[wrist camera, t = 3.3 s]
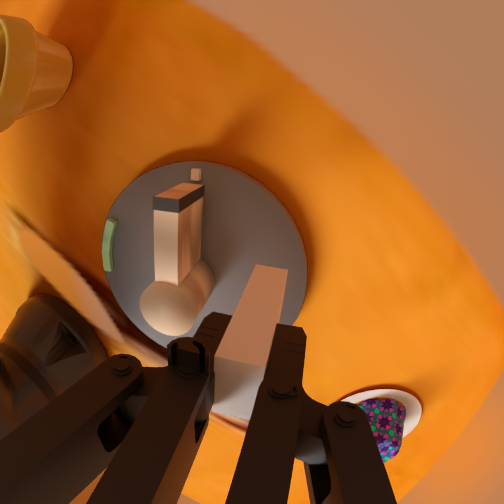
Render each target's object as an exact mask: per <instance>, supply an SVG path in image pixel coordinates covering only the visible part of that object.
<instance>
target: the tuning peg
mask: <svg viewBox="0 0 504 504" xmlns="http://www.w3.org/2000/svg"><path fill="white" fill-rule="evenodd" d="M204 190H205V185H201V184H192V183H180V184H178V185H176V186H174V187H172V188H169V189H167V190H165V191H163V192H161V193H159V194H157V195H155V196H153V210H154V263H155V280H154V281H153V282H152V283H151V284H150V285H149V286H148V287H147V288H146V289H145V290H144V291H143V293H142V295H141V297H140V309H141V312H142V315H143V317H144V318H145V320H146V321H147V322H148V324H149V325H150V326H152V327H153V328H154V329H155V330H157V331H159V332H161V333H163V334H166V335H170V336H179V335H183V334H185V333H187V332H188V331H189V330H190V329H191V327H192V326H193V324H194V322H195V321H196V319H197V317H198V316H199V314H200V312H201V310H202V309H203V307H204V305H205V304H206V302H207V300H208V299H209V297H210V295H211V294H212V292H213V290H214V287H215V276H214V273H213V271H212V269H211V268H210V266H209V265H208V264H207V263H206V262H205V261H203V260H202V259H200V253H201V229H202V209H203V196H204Z"/></svg>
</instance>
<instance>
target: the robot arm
mask: <svg viewBox="0 0 504 504" xmlns="http://www.w3.org/2000/svg"><path fill="white" fill-rule="evenodd" d="M287 273H288V270H287V269H281V268H276V267H270V266H264V265H258V264H256V265H255V268H254V270H253V272H252V274H251V277H250V279H249V281H248V283H247V285H246V288H245V290H244V292H243V294H242V296H241V299H240V301H239V303H238V305H237V307H236V310H235V312H234V314H233V315H228V314H223V313H218V312H212V313H210V314H209V315H207V316H206V317H204V319H203V321H202V322H201V324H200V326H199V327H198V329H197V331H196V334H194V336H193V337H180V338H177V339H174V340H172V341H171V342H170V343H169V344H167V356H168V366H166V367H142V365H141V362H140V361H139V360H138V359H137V358H136V357H134V356H132V355H129V354H118V355H113V356H111V357H110V358H108V356H107V353H106V351H105V349H104V347H103V345H102V343H101V341H100V340H99V338H98V337H97V335H96V334H95V332H94V331H93V330H92V328H91V327H90V326H89V325H88V323H87V322H86V321H85V320H84V319H83V318H82V317H81V316H80V315H79V314H78V313H77V312H76V311H75V310H73V309H72V308H71V307H70V306H68V305H67V304H66V303H64V302H63V301H61V300H59V299H57V298H55V297H53V296H50V295H47V294H37V295H34V296H32V297H31V298H29V299H28V300H27V301H26V302H24V303H23V304H22V305H21V306H20V307H19V309H18V311H17V313H16V315H15V317H14V319H13V320H12V322H11V323H10V325H9V327H8V328H7V330H6V332H5V334H4V335H3V337H2V339H1V340H0V504H69V503H70V502H71V501H72V500H73V499H74V498H75V497H76V496H77V495H78V494H79V493H80V492H82V491H83V490H84V489H85V488H86V487H87V486H88V485H89V484H90V483H91V482H92V481H93V480H94V479H95V478H96V477H97V476H98V475H99V474H100V473H101V472H102V471H103V470H104V469H105V468H106V467H107V469H106V471H105V472H104V474H103V476H102V477H101V479H100V481H99V482H98V484H97V486H96V488H95V489H94V491H93V493H92V494H91V496H90V498H89V500H88V502H87V503H86V504H177V501H178V499H179V496H180V494H181V492H182V489H183V487H184V484H185V482H186V479H187V477H188V474H189V472H190V469H191V467H192V464H193V462H194V459H195V457H196V454H197V452H198V449H199V446H200V444H201V441H202V439H203V436H204V434H205V431H206V429H207V426H208V422H209V413H210V410H211V408H212V405H213V412H216V413H220V414H224V415H228V416H232V417H237V418H241V419H246V420H250V421H249V425H248V428H247V432H246V435H245V439H244V442H243V446H242V449H241V453H240V456H239V460H238V463H237V466H236V470H235V473H234V476H233V480H232V483H231V486H230V490H229V493H228V496H227V499H226V502H225V504H287V500H288V495H289V489H290V483H291V477H292V470H293V464H294V457H295V458H297V459H299V460H301V461H304V468H305V474H306V480H307V486H308V492H309V498H310V504H397V502H396V499H395V496H394V493H393V490H392V487H391V484H390V481H389V478H388V475H387V472H386V469H385V466H384V463H383V460H382V457H381V454H380V452H379V449H378V446H377V443H376V440H375V437H374V435H373V432H372V429H371V426H370V424H369V421H368V418H367V415H366V414H365V412H364V411H363V409H362V408H360V407H359V406H358V405H356V404H354V403H351V402H347V401H338V402H334V403H332V404H330V405H329V406H326V405H324V404H321V403H319V402H317V401H315V400H313V399H312V398H310V397H309V396H308V395H307V394H306V392H305V391H304V389H303V386H302V378H303V369H304V359H305V349H306V338H307V336H306V334H305V332H304V330H303V328H302V327H296V326H290V325H285V324H279V320H280V314H281V309H282V303H283V297H284V291H285V285H286V279H287Z"/></svg>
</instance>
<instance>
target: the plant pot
mask: <svg viewBox="0 0 504 504" xmlns="http://www.w3.org/2000/svg"><path fill="white" fill-rule="evenodd" d="M72 71H73V60H72V56H71V54H70V52H69V50H68V49H67V48H66V47H65V46H64V45H62V44H60V43H58V42H56V41H54V40H52V39H50V38H48V37H46V36H44V35H42V34H40V33H38V32H36V31H35V30H34V28H33V26H32V25H31V24H30V23H29V22H28V21H27V20H25V19H21V18H17V17H12V16H6V15H0V132H3V131H4V130H6V129H7V128H9V127H10V126H11V125H12V124H13V123H14V122H15V121H16V120H17V119H19V118H22V117H24V116H27V115H29V114H32V113H34V112H37V111H40V110H43V109H45V108H48V107H51V106H53V105H55V104H56V103H57V102H58V101H59V100H60V99H61V98H62V97H63V95H64V94H65V92H66V90H67V88H68V86H69V84H70V81H71V77H72Z"/></svg>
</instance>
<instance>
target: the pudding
mask: <svg viewBox="0 0 504 504" xmlns="http://www.w3.org/2000/svg"><path fill="white" fill-rule="evenodd" d="M376 397H385V398H391V399H385V400H382V401H380V400H378V399H369V398H376ZM365 399H368V400H365ZM393 399H395V400H397V401H399V402H401V403H402V404H403V405H404V406H405V409H406V417H405V409H404V407H401V406H398V404H397V401H395V400H393ZM361 400H365V401H362V402H361V403H360V404H359V405H358V406H359V407H360V408H362V409H363V411H364V412H365V414H366V415H367V418H368V421H369V424H370V426H371V429H372V432H373V435H374V437H375V440H376V443H377V446H378V449H379V452H380V454H381V457H382V460H383V463H384V462H386V461H387V460H388V459H390V458H393V457H394V456H396V455H397V453H398V452H399V449H400V447H401V444H402V438H403V437H405V436H406V435H407V434H409V433H410V432H411V431H412V430H413V429H414V428H415V426H416V425H417V424H418V422H419V420H420V418H421V414H422V407H421V404H420V402H419V401H418V400H417V398H416V397H414V396H413V395H411V394H409V393H407V392H404V391H400V390H394V389H377V390H370V391H365V392H361V393H358V394H355V395H352V396H349V397H347V398H345V399H343V400H341V401H347V402H351V403H356V402H359V401H361Z"/></svg>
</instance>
